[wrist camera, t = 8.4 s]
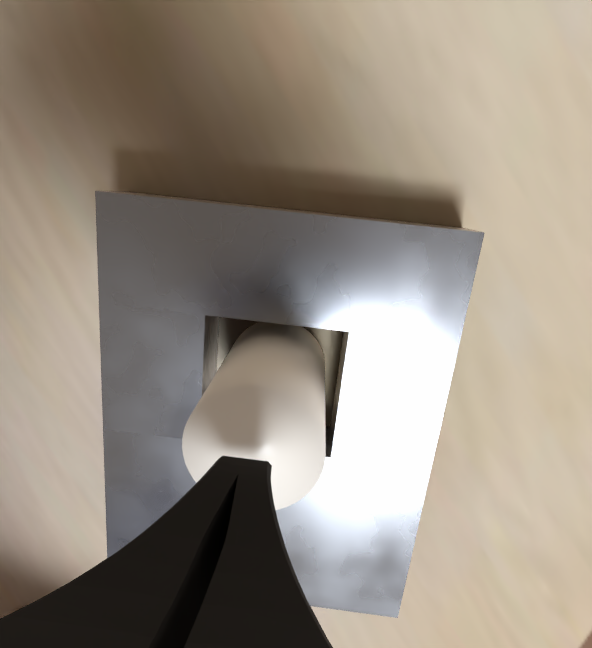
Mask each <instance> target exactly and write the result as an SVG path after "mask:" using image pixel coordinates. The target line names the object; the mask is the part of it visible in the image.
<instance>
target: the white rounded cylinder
mask: <svg viewBox="0 0 592 648" xmlns="http://www.w3.org/2000/svg"><path fill="white" fill-rule="evenodd" d="M182 451H183V457H184V461H185V464H186V466H187V469H188V471H189V473H190V474H191V476H192V478H193V479H194V481H195V482H196V483H197V482H198V481H199V480H200V479H201V478H202V477H203V475H204V474H205V473H206V472H207V471H208V470H209V469H210V468H211V467H212V465H213V464H214V463H215V462H216V461H217V460H218V459H219V458H220V457H221V456H230V457H238V458H246V459H254V460H262V461H268V462H269V463H270V464H271V465H272V470H271V487H272V495H273V501H274V506H275V510H279V509H282V508H285V507H288V506H290V505H292V504H294V503H296V502H298V501H299V500H301V499H302V498H303V497H305V496H306V495H307V494H308V493H309V492H310V491H311V490H312V489H313V487H314V486H315V485H316V483H317V482H318V480H319V478H320V476H321V474H322V471H323V468H324V464H325V457H326V438H325V359H324V354H323V351H322V348H321V346H320V344H319V343H318V341H317V340H316V338H315V337H314V336H313V335H312V334H311V333H310V332H309V331H308V330H306V329H305V328H304V327H302V326H294V325H286V324H277V323H268V322H258V323H256V324H254V325H252V326H250V327H249V328H247V329H246V330H245V331H244V332H243V333H242V334H241V335H240V336H239V337H238V339H237V340H236V342H235V343H234V345H233V347H232V348H231V350H230V351H229V353H228V355H227V356H226V358H225V360H224V361H223V363H222V365H221V366H220V368H219V369H218V371H217V373H216V374H215V376H214V378H213V379H212V381H211V382H210V384H209V386H208V387H207V389H206V391H205V392H204V394H203V396H202V397H201V399H200V400H199V402H198V404H197V405H196V407H195V409H194V410H193V412H192V413H191V415H190V417H189V419H188V421H187V423H186V426H185V429H184V432H183V438H182Z"/></svg>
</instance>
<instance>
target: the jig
mask: <svg viewBox="0 0 592 648" xmlns="http://www.w3.org/2000/svg"><path fill="white" fill-rule="evenodd" d="M95 196H96V226H97V256H98V286H99V317H100V347H101V377H102V407H103V438H104V468H105V498H106V528H107V558H108V557H110V556H111V555H113V554H114V553H116V552H117V551H118V550H120V549H121V548H123V547H124V546H125V545H127V544H128V543H129V542H131V541H132V540H133V539H135V538H136V537H137V536H138V535H140V534H141V533H142V532H143V531H145V530H146V529H147V528H148V527H150V526H151V525H152V524H153V523H154V522H155V521H156V520H158V519H159V518H160V517H161V516H162V515H163V514H164V513H166V512H167V511H168V510H169V509H170V508H171V507H172V506H173V505H175V504H176V503H177V502H178V501H179V500H180V499H181V498H182V497H183V496H184V495H185V494H186V493H187V492H188V491H189V490H190V489H191V488H192V487H193V486H194V485H195V484H196V482H195V481H194V479H193V478H192V476H191V474H190V473H189V471H188V469H187V466H186V464H185V461H184V457H183V451H182V438H183V432H184V429H185V426H186V423H187V421H188V419H189V417H190V415H191V413H192V412H193V410H194V409H195V407H196V405H197V404H198V402H199V400H200V399H201V397H202V396H203V394H204V392H205V391H206V389H207V387H208V386H209V384H210V382H211V381H212V379H213V378H214V376H215V374H216V370H217V351H218V332H219V317H225V318H234V319H243V320H251V321H260V322H268V323H277V324H286V325H294V326H303V327H312V328H320V329H329V330H337V331H344V332H343V339H342V346H341V353H340V361H339V368H338V375H337V382H336V389H335V396H334V403H333V410H332V417H331V424H330V427H325V438H326V457H325V464H324V468H323V471H322V474H321V476H320V478H319V480H318V482H317V483H316V485H315V486H314V487H313V489H312V490H311V491H310V492H309V493H308V494H307V495H306V496H305V497H303V498H302V499H301V500H299V501H298V502H296V503H294V504H292V505H290V506H288V507H285V508H282V509H279V510H276V515H277V519H278V523H279V527H280V530H281V534H282V537H283V540H284V544H285V547H286V550H287V553H288V556H289V558H290V561H291V564H292V566H293V569H294V571H295V574H296V576H297V579H298V581H299V583H300V585H301V588H302V590H303V592H304V594H305V597H306V599H307V601H308V603H309V605H310V606H314V607H322V608H329V609H336V610H344V611H351V612H358V613H366V614H373V615H380V616H388V617H395V618H398V614H399V609H400V605H401V600H402V596H403V592H404V587H405V583H406V578H407V574H408V569H409V565H410V560H411V556H412V552H413V547H414V543H415V538H416V534H417V529H418V525H419V521H420V516H421V512H422V507H423V503H424V498H425V494H426V490H427V485H428V481H429V476H430V472H431V467H432V463H433V459H434V454H435V450H436V445H437V441H438V436H439V432H440V428H441V423H442V419H443V414H444V410H445V405H446V401H447V397H448V392H449V388H450V383H451V379H452V374H453V370H454V365H455V361H456V357H457V352H458V348H459V343H460V339H461V334H462V330H463V326H464V321H465V317H466V312H467V308H468V303H469V299H470V295H471V290H472V286H473V281H474V277H475V272H476V268H477V264H478V259H479V255H480V250H481V246H482V241H483V237H484V232H479V231H475V230H470V229H465V228H459V227H450V226H441V225H431V224H422V223H413V222H404V221H394V220H385V219H376V218H366V217H357V216H348V215H338V214H329V213H320V212H311V211H301V210H292V209H283V208H273V207H264V206H255V205H245V204H236V203H227V202H218V201H208V200H199V199H190V198H180V197H171V196H162V195H152V194H143V193H134V192H121V191H95Z"/></svg>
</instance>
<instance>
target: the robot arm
mask: <svg viewBox="0 0 592 648" xmlns="http://www.w3.org/2000/svg"><path fill="white" fill-rule="evenodd" d="M271 470H272V465H271V464H270V463H269V462H268V461H262V460H254V459H246V458H238V457H230V456H221V457H220V458H219V459H218V460H217V461H216V462H215V463H214V464H213V465H212V467H211V468H210V469H209V470H208V471H207V472H206V473H205V474H204V475H203V477H202V478H201V479H200V480H199V481H198V482H197V483H196V484H195V485H194V486H193V487H192V488H191V489H190V490H189V491H188V492H187V493H186V494H185V495H184V496H183V497H182V498H181V499H180V500H179V501H178V502H177V503H176V504H175V505H173V506H172V507H171V508H170V509H169V510H168V511H167V512H166V513H164V514H163V515H162V516H161V517H160V518H159V519H158V520H156V521H155V522H154V523H153V524H152V525H151V526H150V527H148V528H147V529H146V530H145V531H143V532H142V533H141V534H140V535H138V536H137V537H136V538H135V539H133V540H132V541H131V542H129V543H128V544H127V545H125V546H124V547H123V548H121V549H120V550H118V551H117V552H116V553H114V554H113V555H111V556H110V557H108V558H107V559H105V560H104V561H102V562H101V563H99V564H98V565H96V566H95V567H93V568H92V569H90V570H89V571H87V572H85V573H84V574H82V575H81V576H79V577H78V578H76V579H74V580H73V581H71V582H69V583H68V584H66V585H64V586H62V587H61V588H59V589H57V590H55V591H53V592H52V593H50V594H48V595H46V596H44V597H42V598H41V599H39V600H37V601H35V602H33V603H31V604H29V605H27V606H25V607H23V608H21V609H19V610H17V611H15V612H13V613H11V614H9V615H7V616H5V617H3V618H1V619H0V648H333V647H332V646H331V644H330V642H329V641H328V639H327V637H326V635H325V633H324V631H323V630H322V628H321V626H320V624H319V622H318V620H317V618H316V616H315V614H314V612H313V611H312V609H311V607H310V605H309V603H308V601H307V599H306V597H305V594H304V592H303V590H302V588H301V585H300V583H299V581H298V579H297V576H296V574H295V571H294V569H293V566H292V564H291V561H290V558H289V556H288V553H287V550H286V547H285V544H284V540H283V537H282V534H281V530H280V527H279V523H278V519H277V515H276V510H275V506H274V501H273V495H272V487H271Z"/></svg>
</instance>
